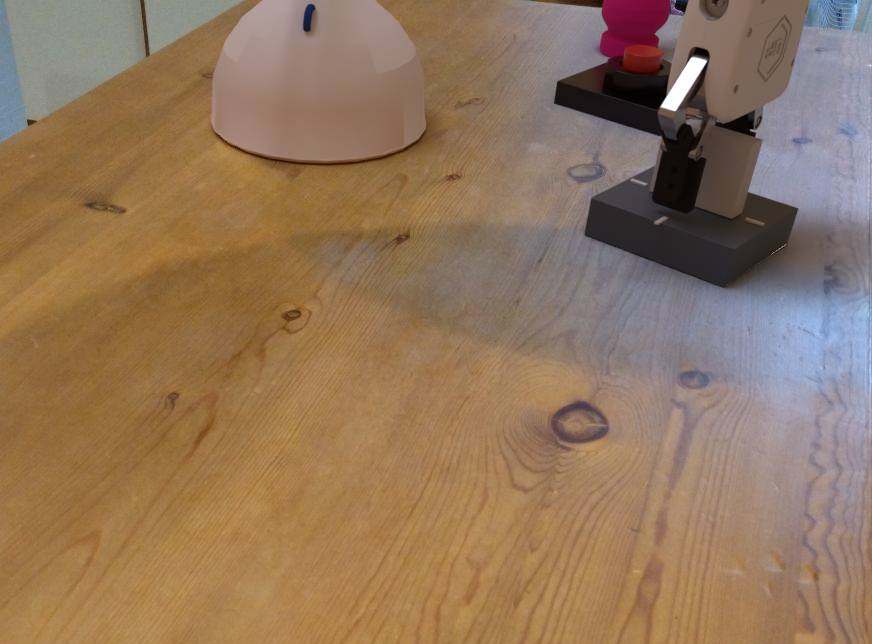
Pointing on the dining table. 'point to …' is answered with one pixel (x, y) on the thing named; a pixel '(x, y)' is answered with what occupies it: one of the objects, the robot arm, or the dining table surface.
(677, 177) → the robot arm
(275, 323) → the dining table surface
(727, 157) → the upright beige slab
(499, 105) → the dining table surface
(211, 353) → the dining table surface
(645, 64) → the button
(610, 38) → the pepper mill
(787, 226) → the dial base
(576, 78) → the block
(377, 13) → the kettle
